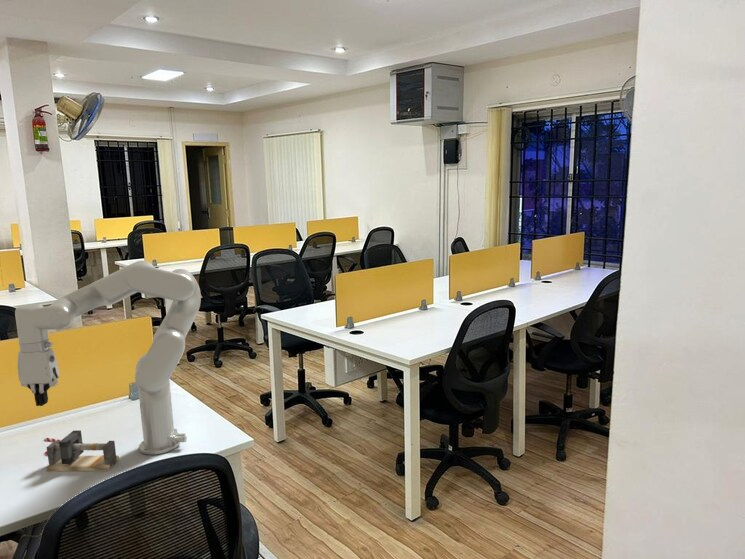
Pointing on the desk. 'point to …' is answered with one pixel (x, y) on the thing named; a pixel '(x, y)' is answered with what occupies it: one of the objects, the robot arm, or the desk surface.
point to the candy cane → (50, 441)
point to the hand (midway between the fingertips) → (42, 404)
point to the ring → (65, 447)
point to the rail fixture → (83, 457)
